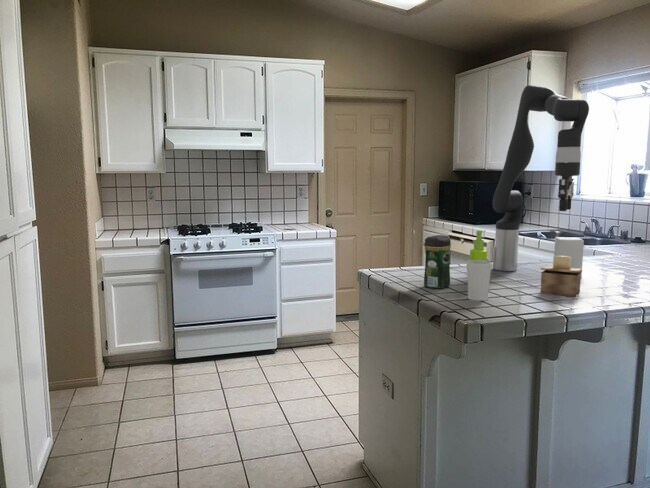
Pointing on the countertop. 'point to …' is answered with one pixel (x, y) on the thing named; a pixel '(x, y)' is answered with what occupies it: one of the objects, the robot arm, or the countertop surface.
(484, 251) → the soap dispenser
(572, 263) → the supplement box
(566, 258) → the domed cream knob
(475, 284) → the cup
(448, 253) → the coffee jar
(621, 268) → the countertop surface
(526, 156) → the robot arm
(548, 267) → the lid
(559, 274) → the box
